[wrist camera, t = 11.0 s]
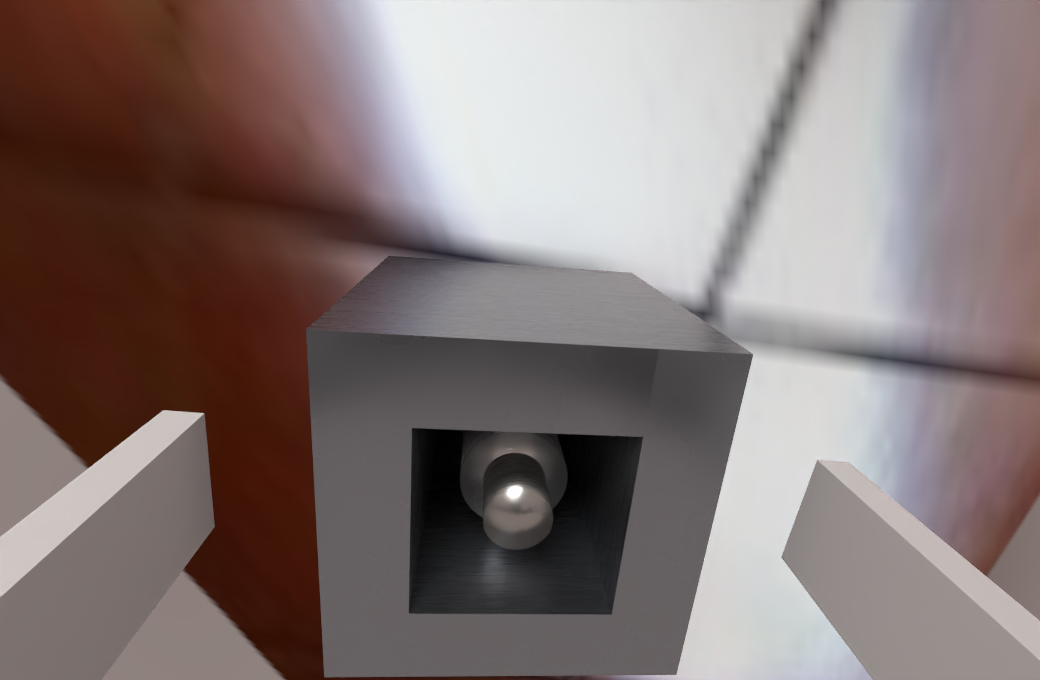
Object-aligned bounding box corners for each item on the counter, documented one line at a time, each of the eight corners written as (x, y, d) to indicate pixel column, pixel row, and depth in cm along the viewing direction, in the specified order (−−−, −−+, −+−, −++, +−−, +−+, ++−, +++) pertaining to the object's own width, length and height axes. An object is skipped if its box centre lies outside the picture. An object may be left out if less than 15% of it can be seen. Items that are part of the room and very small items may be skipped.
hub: (373, 326, 18) (283, 452, 10) (555, 247, 17) (617, 311, 9) (457, 479, 20) (440, 684, 12) (620, 412, 20) (716, 578, 12)
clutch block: (388, 255, 16) (306, 329, 9) (631, 272, 17) (753, 354, 9) (388, 471, 19) (324, 677, 11) (600, 478, 19) (676, 674, 12)
